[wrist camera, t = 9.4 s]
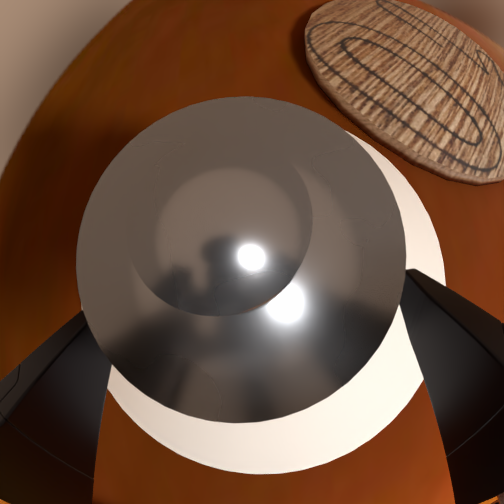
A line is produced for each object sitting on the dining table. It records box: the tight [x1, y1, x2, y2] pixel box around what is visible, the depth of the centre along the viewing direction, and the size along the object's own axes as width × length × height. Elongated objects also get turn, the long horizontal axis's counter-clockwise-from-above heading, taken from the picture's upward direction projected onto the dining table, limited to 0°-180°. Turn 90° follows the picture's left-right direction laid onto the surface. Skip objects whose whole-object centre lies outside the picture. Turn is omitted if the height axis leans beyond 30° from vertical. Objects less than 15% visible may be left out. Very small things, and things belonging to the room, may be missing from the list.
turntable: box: [81, 131, 446, 474], centre depth 16 cm, size 21×21×2 cm
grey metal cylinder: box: [76, 97, 406, 423], centre depth 9 cm, size 6×6×11 cm
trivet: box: [304, 0, 504, 186], centre depth 20 cm, size 25×25×2 cm
